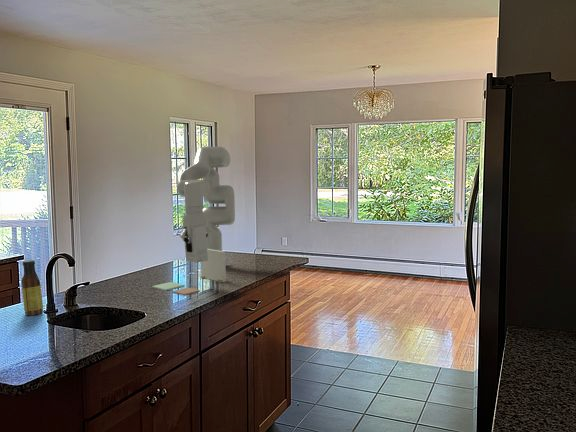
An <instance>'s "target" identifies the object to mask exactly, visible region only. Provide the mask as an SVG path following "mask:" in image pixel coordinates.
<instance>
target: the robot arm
mask: <svg viewBox="0 0 576 432" xmlns="http://www.w3.org/2000/svg"><path fill="white" fill-rule="evenodd" d="M230 163H231V155H230V152H229V151H228V150H227V149H226V148H225V147H222V146H200V147H199V148H198V149H197V150H196V153H195V156H194V160H193V163H192V165H190V166H189V167H188V168H186V169H185V170H183V171H182V172H181V173H180V174H179V177H178V181H177V186H176V187H177V188H176V192H177V194H178V195H179V196H180V197H182V198H184V210H185V213H183V215H182V217H183V218H182V225H181V227H182V230H181V231H182V232H180V234H179V238H180V239H182V241H183V242H184V244H185V243H186V251H187V252H192V243H191V237H192V228H193V227H198V226H206V240H207V249H212V250H219V251H223V239H222V238H223V237H222V231H221V230H220V228H219V227H218V226H228V225H229V226H230V225H234V223H235V221H236V220H235V219H236V205H235V203H236V201H235V200H236V199H235V198H236V197H235V191H234V190H235V189H234V188H233V187H232V186H231V185H228V184H227V185H226V184H223V185H222V184H220V183H221V182H220V174H219V173H218V171H217V170H216V169H215V168H218V169H219V168H228V167H230ZM203 202H204V203H206V204H210V205H211V204H212V205H216V206H206V207H205V206H204V205H203ZM220 204H221V205H222V204H223V206H217V205H220ZM186 232H187V234H186ZM185 236H186V237H185ZM188 237H189V239H188ZM226 262H230V258H229V257H225V263H226Z"/></svg>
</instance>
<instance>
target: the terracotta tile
mask: <svg viewBox="0 0 576 432" xmlns="http://www.w3.org/2000/svg"><path fill="white" fill-rule="evenodd" d="M195 292H196V293H199V292H200V290H199V289H196V288H192V287H183V288H181V289H176V290H172V294H177V295H180V296H186V295H187V296H188V295H192V294H195ZM191 293H192V294H191Z"/></svg>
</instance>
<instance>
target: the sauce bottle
mask: <svg viewBox="0 0 576 432" xmlns="http://www.w3.org/2000/svg"><path fill="white" fill-rule="evenodd" d="M35 264H36V261H35V260H34V259H28V260H22V266H23V277H22V279H21V289H22V290H21V291H22V292H21V293H22V300H23V309H24V314H25V316H36V314H37V315H40V314H43V312H44V310H43V309H44V304H43V295H42V293H43V292H42V287H41V286H42V285H41V281H40V278H39V276H38V274H37V272H36V268H35V267H36V266H35Z"/></svg>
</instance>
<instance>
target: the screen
mask: <svg viewBox="0 0 576 432" xmlns="http://www.w3.org/2000/svg"><path fill="white" fill-rule="evenodd" d="M207 253H208V260H207V261H203V262H200V279H201V278H202V279H203V280H205V279H207V280H210V281H214V282H215V281H216V282H217V283H227V281H228V280H227V279H228V278H227V272H226V271H227V270H226V269H227V267H226V266H227V265H226V262H225V258H226V251H224V250H222V251H219V250H212V249H207Z"/></svg>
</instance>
